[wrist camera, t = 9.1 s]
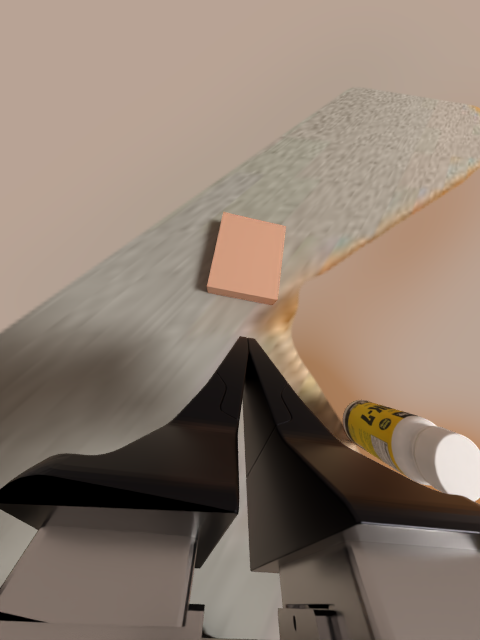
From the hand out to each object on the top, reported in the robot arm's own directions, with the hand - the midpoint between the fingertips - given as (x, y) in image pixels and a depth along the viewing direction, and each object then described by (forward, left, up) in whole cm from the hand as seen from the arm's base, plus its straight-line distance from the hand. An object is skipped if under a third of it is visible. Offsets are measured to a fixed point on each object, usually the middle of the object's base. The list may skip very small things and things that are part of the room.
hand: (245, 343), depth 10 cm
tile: (+6, +2, -9) cm, 11 cm away
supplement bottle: (-1, -17, -10) cm, 20 cm away
